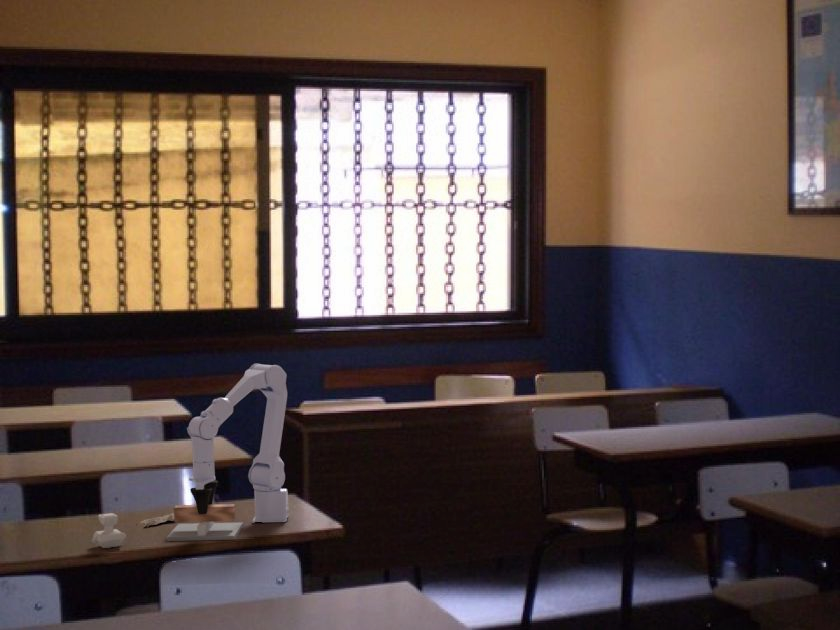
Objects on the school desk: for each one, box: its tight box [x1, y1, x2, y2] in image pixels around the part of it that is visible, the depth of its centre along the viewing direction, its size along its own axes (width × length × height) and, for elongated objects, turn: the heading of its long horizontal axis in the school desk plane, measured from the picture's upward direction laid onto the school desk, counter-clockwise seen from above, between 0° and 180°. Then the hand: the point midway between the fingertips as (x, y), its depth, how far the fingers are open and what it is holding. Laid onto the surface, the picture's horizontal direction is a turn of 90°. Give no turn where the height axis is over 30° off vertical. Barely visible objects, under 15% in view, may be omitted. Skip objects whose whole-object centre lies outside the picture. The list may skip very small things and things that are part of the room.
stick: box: [173, 503, 236, 523], centre depth 346 cm, size 16×3×4 cm, turn 89°
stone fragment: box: [139, 511, 174, 528], centre depth 364 cm, size 25×3×10 cm
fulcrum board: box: [166, 522, 244, 542], centre depth 347 cm, size 18×16×4 cm
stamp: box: [91, 512, 127, 549], centre depth 334 cm, size 9×7×8 cm
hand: (205, 511), depth 346 cm, fingers open, 7 cm apart
